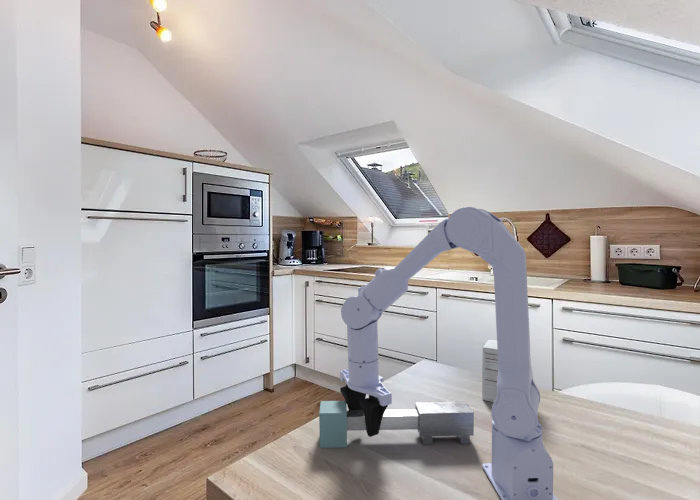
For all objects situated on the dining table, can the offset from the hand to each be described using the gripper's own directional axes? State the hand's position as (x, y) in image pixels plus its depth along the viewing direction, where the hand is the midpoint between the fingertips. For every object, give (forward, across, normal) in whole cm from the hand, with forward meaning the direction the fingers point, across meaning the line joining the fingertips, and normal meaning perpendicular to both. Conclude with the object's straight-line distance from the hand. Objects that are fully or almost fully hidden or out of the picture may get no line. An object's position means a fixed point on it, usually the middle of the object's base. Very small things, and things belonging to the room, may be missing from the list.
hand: (365, 428), depth 73 cm
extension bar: (0, -2, -3) cm, 3 cm away
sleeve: (+2, -8, -13) cm, 15 cm away
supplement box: (+3, -2, -37) cm, 37 cm away
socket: (+2, +3, +5) cm, 6 cm away
